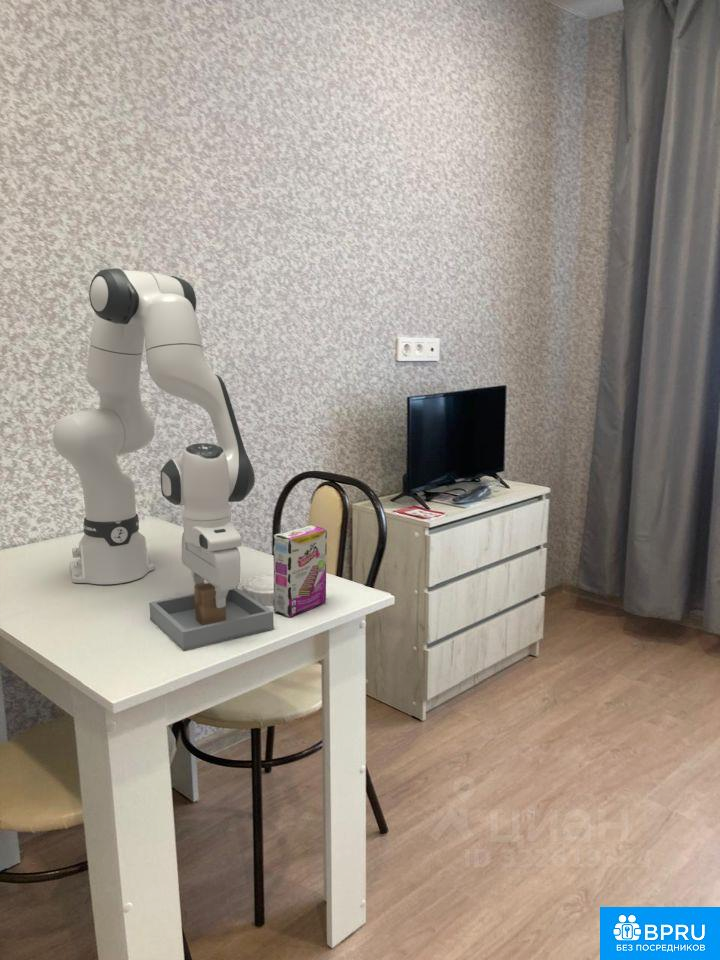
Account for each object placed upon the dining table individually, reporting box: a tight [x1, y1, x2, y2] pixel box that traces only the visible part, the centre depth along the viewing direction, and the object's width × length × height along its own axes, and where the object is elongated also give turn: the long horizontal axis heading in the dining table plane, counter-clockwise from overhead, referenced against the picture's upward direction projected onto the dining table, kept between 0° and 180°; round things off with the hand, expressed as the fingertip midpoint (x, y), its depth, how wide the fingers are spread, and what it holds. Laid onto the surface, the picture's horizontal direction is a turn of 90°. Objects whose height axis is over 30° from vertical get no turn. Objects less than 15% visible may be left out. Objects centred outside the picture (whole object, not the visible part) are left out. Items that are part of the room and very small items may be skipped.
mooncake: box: [241, 573, 274, 607], centre depth 160 cm, size 12×12×4 cm
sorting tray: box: [149, 587, 275, 652], centre depth 144 cm, size 18×18×4 cm
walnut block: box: [193, 582, 226, 626], centre depth 144 cm, size 4×4×7 cm
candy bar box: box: [273, 525, 328, 618], centre depth 152 cm, size 11×5×16 cm, turn 141°
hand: (210, 599), depth 144 cm, fingers open, 8 cm apart
